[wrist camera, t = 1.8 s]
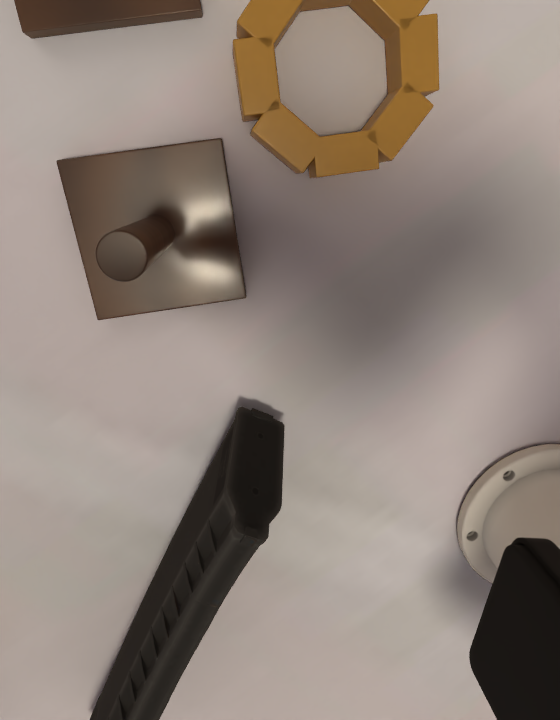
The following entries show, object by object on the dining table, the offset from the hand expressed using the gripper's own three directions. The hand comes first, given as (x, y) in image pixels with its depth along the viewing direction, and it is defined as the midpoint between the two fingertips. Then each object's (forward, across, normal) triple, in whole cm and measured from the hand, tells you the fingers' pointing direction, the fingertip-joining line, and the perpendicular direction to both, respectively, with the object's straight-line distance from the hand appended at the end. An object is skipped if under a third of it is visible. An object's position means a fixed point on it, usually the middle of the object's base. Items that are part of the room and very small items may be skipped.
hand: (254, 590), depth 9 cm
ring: (+24, -4, -13) cm, 28 cm away
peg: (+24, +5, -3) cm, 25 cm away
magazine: (+24, +2, +22) cm, 33 cm away
